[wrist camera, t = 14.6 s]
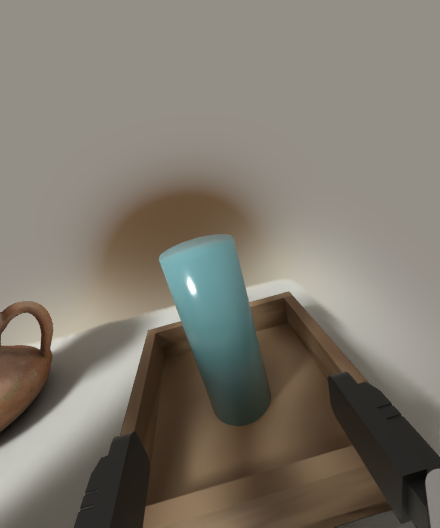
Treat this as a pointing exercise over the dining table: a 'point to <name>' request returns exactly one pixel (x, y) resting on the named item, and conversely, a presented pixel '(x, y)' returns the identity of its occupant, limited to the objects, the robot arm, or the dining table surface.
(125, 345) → the dining table surface
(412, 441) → the robot arm
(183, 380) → the walnut crate
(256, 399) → the teal canister
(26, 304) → the ceramic jug
